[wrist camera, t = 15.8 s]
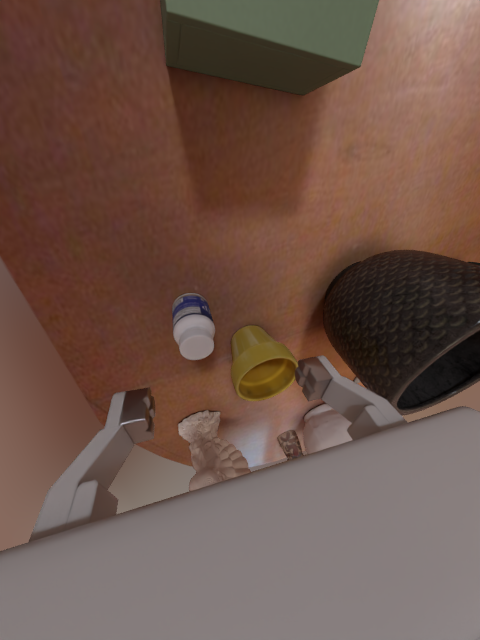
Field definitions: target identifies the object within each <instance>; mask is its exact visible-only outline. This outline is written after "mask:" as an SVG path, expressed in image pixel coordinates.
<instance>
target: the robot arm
mask: <svg viewBox="0 0 480 640" xmlns="http://www.w3.org/2000/svg"><path fill="white" fill-rule="evenodd" d="M295 378H296V381H297V383H298V385H300V386H301V387H303V390H302V392H303V393H304V395H305V397H306V398H307V400H308V401H312V400H317V399H321V398H322V399H321V400H323V401H324V402H325V403H327V404H328V405H329V406H330V407H332V408H333V409H334V410H336V411H337V412H338V413H339V414H341V415H342V416H343V417H345V418H346V419H347V420H348V421H350V422H351V423H352V424H351V425H350V426H349V427H348V429H347V432H348V434H349V435H350V437H351V438H352V441H348V442H345V443H342V444H339V445H336V446H333V447H329V448H326V449H323V450H320V451H317V452H313V453H310V454H307V455H304V456H301V457H298V458H294V459H291V460H288V461H285V462H282V463H279V464H276V465H272V466H270V467H266V468H263V469H260V470H256V471H253V472H250V473H247V474H244V475H241V476H237V477H234V478H231V479H228V480H225V481H221V482H218V483H215V484H212V485H209V486H206V487H202V488H199V489H196V490H193V491H190V492H187V493H183V494H180V495H177V496H174V497H171V498H168V499H164V500H162V501H159V502H155V503H152V504H149V505H146V506H142V507H139V508H136V509H133V510H130V511H126V512H123V513H120V514H117V515H116V512H117V505H118V499H117V498H116V497H115V496H114V495H113V494H111V493H110V492H109V491H108V488H109V487H110V485H111V483H112V482H113V480H114V478H115V477H116V475H117V473H118V471H119V470H120V468H121V467H122V465H123V463H124V462H125V460H126V458H127V457H128V455H129V453H130V452H131V450H132V448H133V446H134V444H136V443H139V442H143V441H147V440H151V439H154V426H155V425H154V422H153V418H154V417H155V400H154V397H153V396H151V392H152V391H151V389H150V388H144V389H137V390H131V391H125V392H119V393H115V394H114V395H113V397H112V401H111V405H110V409H109V413H108V417H107V421H106V425H105V428H104V429H101V430H100V431H99V432H98V433H97V434H96V436H95V437H94V438H93V439H92V440H91V441H90V443H89V444H88V445H87V446H86V447H85V449H84V450H83V451H82V452H81V453H80V454H79V455H78V457H77V458H76V459H75V460H74V461H73V463H72V464H71V465H70V466H69V467H68V468H67V469H66V471H65V472H64V473H63V474H62V475H61V477H60V478H59V479H58V480H57V481H56V482H55V483H54V485H53V486H52V487H51V488H50V489H49V490H48V492H47V495H46V498H45V500H44V503H43V506H42V508H41V511H40V514H39V516H38V519H37V521H36V524H35V527H34V529H33V532H32V534H31V537H30V540H29V542H28V543H25V544H22V545H19V546H15V547H12V548H9V549H6V550H3V551H0V640H480V412H479V411H477V410H474V409H472V408H469V407H463V406H462V407H457V408H453V409H450V410H447V411H444V412H440V413H437V414H434V415H431V416H428V417H425V418H422V419H419V420H415V421H412V422H409V423H407V421H406V420H405V419H404V418H403V417H402V416H401V415H400V414H399V413H398V412H397V410H396V409H395V408H394V407H393V406H392V405H391V404H390V403H389V402H388V401H387V400H386V399H384V398H382V397H381V396H379V395H377V394H375V393H373V392H371V391H370V390H368V389H366V388H364V387H362V386H360V385H359V384H357V383H355V382H353V381H351V380H349V379H348V378H346V377H341V375H340V374H339V373H338V372H337V370H336V369H335V368H334V367H333V366H332V364H331V363H330V362H329V361H328V359H327V358H326V357H325V356H317V357H311V358H306V359H301V360H299V361H298V367H297V368H296V370H295Z"/></svg>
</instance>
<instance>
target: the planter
mask: <svg viewBox="0 0 480 640" xmlns="http://www.w3.org/2000/svg"><path fill="white" fill-rule="evenodd" d="M323 324H324V329H325V332H326V334H327V337H328V339H329V341H330V343H331V344H332V346H333V347H334V349H335V350H336V352H337V353H338V354H339V355H340V357H341V358H342V359H343V360H344V362H345V363H346V364H347V365H348V367H349V368H350V369H351V370H352V372H353V373H354V374H355V375H356V376H357V378H358V379H359V380H360V381H361V383H362V384H363V385H364V386H365V387H366V388H367V389H368V390H370V391H371V392H373V393H375V394H377V395H379V396H381V397H382V398H384V399H386V400H387V401H388V402H389V403H390V404H391V405H392V406H393V407H394V408H395V409H396V410H397V412H398V413H399V414H400V415H408V414H412V413H415V412H418V411H422V410H424V409H427V408H429V407H432V406H434V405H436V404H438V403H440V402H442V401H445V400H447V399H448V398H451V397H452V396H454V395H456V394H458V393H460V392H462V391H463V390H465V389H467V388H469V387H470V386H472V385H474V384H475V383H477V382H478V381H480V266H479V265H475V264H472V263H468V262H464V261H461V260H457V259H453V258H449V257H446V256H442V255H438V254H434V253H429V252H424V251H416V250H393V251H389V252H384V253H380V254H377V255H374V256H372V257H369V258H367V259H365V260H363V261H360V262H357V263H354V264H352V265H350V266H348V267H347V268H345V269H344V270H343V271H342V272H340V273H339V274H338V275H337V276H336V277H335V279H334V280H333V281H332V283H331V284H330V286H329V288H328V290H327V293H326V297H325V307H324V312H323Z"/></svg>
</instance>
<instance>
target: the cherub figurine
mask: <svg viewBox="0 0 480 640" xmlns="http://www.w3.org/2000/svg"><path fill="white" fill-rule="evenodd" d="M220 414H221V413H220V412H209V411H208V410H205V411H204V412H198V413H196V414H193V415H191V416H189V417H188V418H186V419H184V420H183V421H182V422H181V423H179V424H178V427H179V429H178V431H179V435H180V436H182V437H183V439H185V440H188V441H189V443H190V445H189V449H190V451H191V453H192V455H191V460H192V463H193V468H194V469H195V470H196V474H195V476H193V478H192V479H191V480H190V484H189V492H190V491H193V490H196V489H199V488H202V487H206V486H209V485H212V484H215V483H218V482H221V481H225V480H228V479H231V478H234V477H237V476H241V475H244V474H247V473H250V472H251V471H250V469H248V463H247V460H246V459H245V458H244V457H243V456H242V453H241V452H240V451H239V450H236V447H235V446H234V445H232V444H230V443H229V442H228V441H227V440H223V439H222V440H221V439H220V438H218V437H217V431H218V427H219V423H220V417H219V416H220Z"/></svg>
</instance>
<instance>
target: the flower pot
mask: <svg viewBox="0 0 480 640" xmlns="http://www.w3.org/2000/svg"><path fill="white" fill-rule="evenodd" d="M231 350H232V360H233V364H232V367H231V378H232V382H233V385H234V388H235V391H236V393H237V394H238V396H239V397H241V398H242V399H244V400H247V401H261V400H265V399H268V398H271V397H274V396H276V395H278V394H279V393H281V392H283V391H284V390H285V389H287V388H288V387H289V386H290V385H291V384H292V383H293V382H294V380H295V379H296V378H295V370H296V368H297V367H298V362H297V361H296V359H295V358H294V356H293V355H292V353H291V352H290V351H289V349H288V348H287V347H286V346H285V345H283V344H281V343H279V342H276V341H275V340H274V339H273V338H272V337H271V336H270V335H269V334H267V333H266V332H265V331H264V330H263V329H262V328H261V327H259V326H255V325H250V326H245V327H243V328H241V329H239V330H238V331H237V332H236V333H235V334H234V335H233V337H232V339H231Z"/></svg>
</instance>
